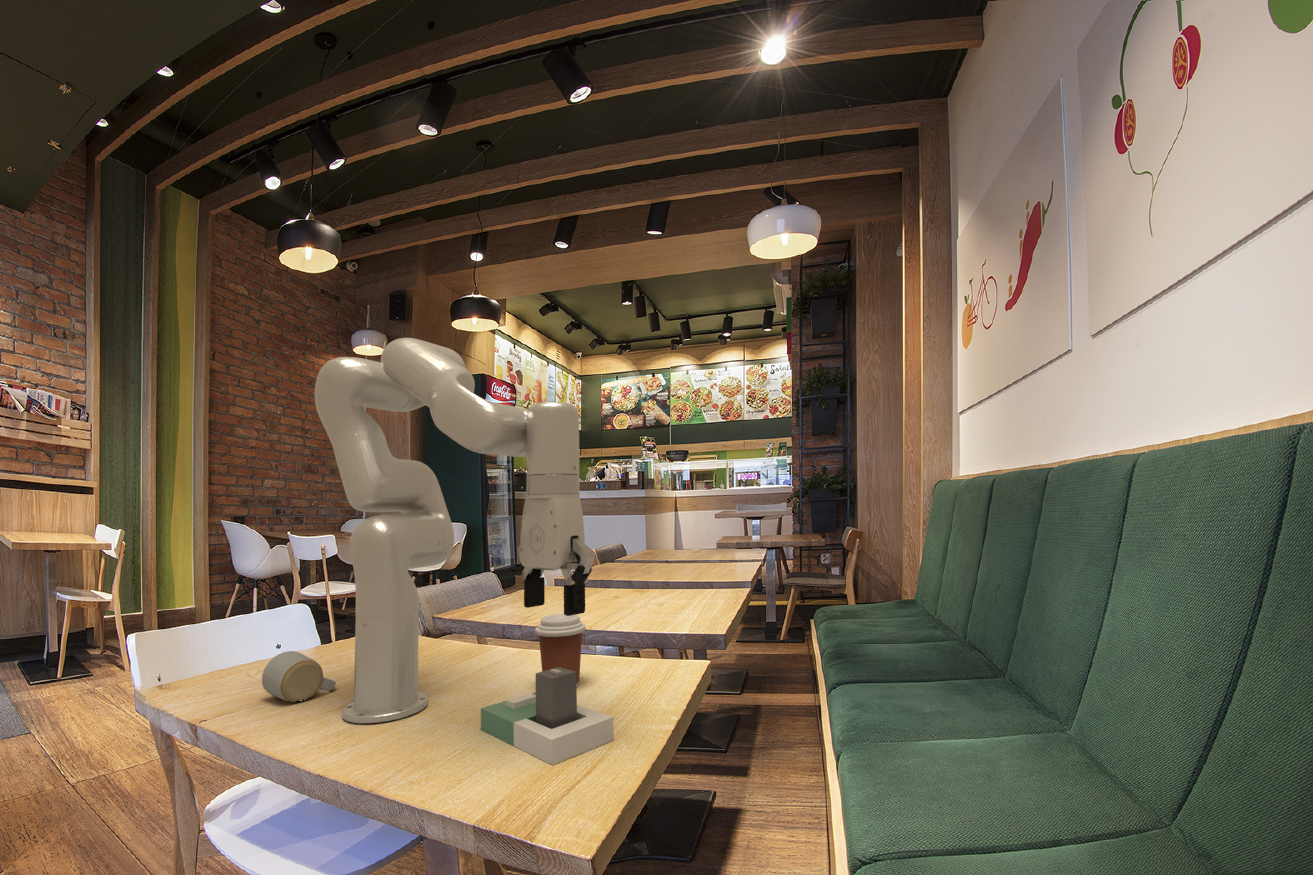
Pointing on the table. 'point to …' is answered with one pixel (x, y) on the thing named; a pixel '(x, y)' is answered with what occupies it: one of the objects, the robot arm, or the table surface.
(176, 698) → the table surface
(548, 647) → the coffee cup
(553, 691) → the grey square peg
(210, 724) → the table surface
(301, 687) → the ceramic mug
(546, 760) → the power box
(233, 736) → the table surface
